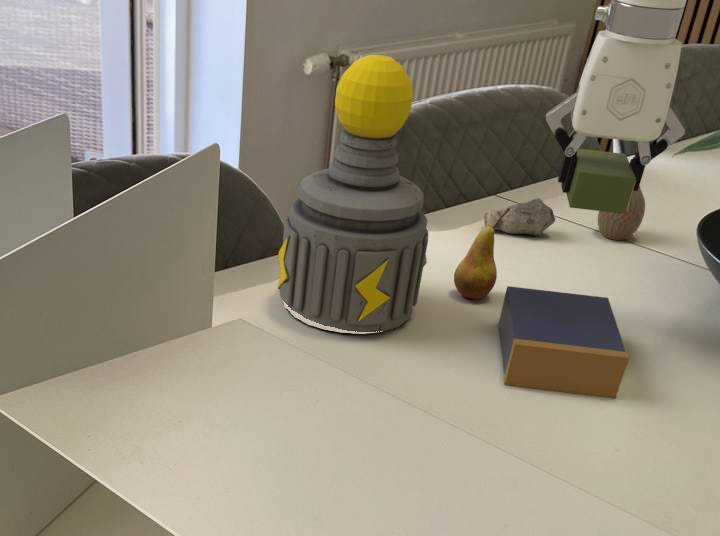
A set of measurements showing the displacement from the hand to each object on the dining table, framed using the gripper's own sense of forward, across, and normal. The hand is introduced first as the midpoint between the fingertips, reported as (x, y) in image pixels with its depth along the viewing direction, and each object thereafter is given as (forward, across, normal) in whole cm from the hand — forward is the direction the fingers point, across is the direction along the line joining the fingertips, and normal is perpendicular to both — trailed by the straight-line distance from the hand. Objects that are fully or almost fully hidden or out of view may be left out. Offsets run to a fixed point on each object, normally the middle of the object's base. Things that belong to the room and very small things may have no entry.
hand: (595, 191), depth 121 cm
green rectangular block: (+1, 0, 0) cm, 1 cm away
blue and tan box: (+18, -1, -9) cm, 20 cm away
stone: (+18, -4, +36) cm, 41 cm away
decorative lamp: (+18, -28, -1) cm, 33 cm away
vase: (+18, +12, +41) cm, 46 cm away
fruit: (+18, -11, +8) cm, 23 cm away
